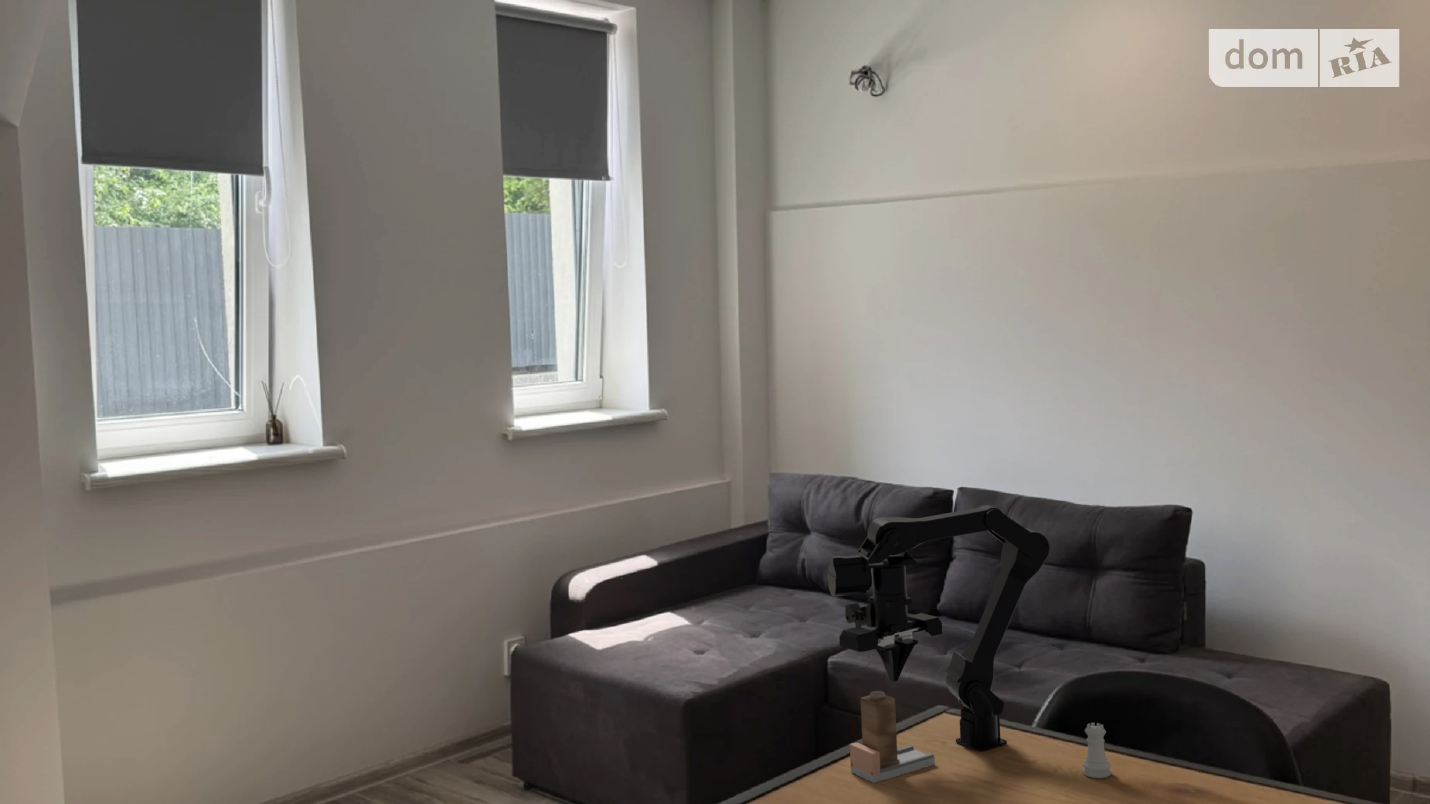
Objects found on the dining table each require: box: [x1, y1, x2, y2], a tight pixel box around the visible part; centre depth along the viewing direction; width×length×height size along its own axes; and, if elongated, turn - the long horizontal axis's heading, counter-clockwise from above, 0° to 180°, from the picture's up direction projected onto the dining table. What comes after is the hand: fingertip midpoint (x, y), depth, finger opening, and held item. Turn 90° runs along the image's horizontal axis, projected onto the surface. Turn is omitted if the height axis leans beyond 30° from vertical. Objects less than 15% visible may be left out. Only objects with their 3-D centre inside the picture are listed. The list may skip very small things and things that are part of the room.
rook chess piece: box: [1082, 722, 1112, 780], centre depth 191 cm, size 4×4×8 cm
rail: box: [849, 742, 936, 784], centre depth 198 cm, size 13×6×5 cm, turn 121°
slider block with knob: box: [860, 690, 900, 769], centre depth 196 cm, size 5×4×12 cm
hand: (893, 681), depth 205 cm, fingers closed
